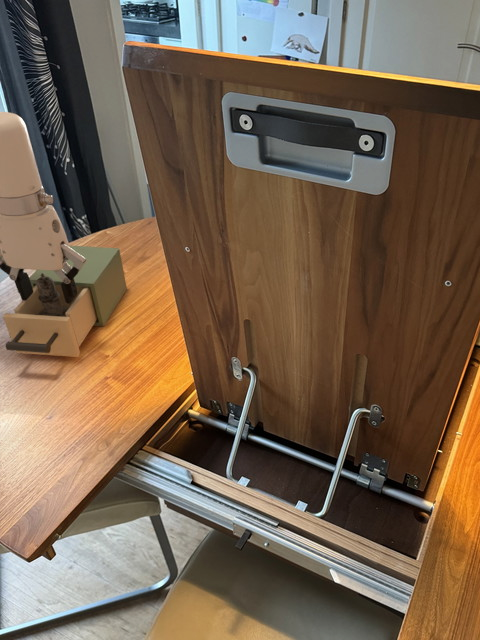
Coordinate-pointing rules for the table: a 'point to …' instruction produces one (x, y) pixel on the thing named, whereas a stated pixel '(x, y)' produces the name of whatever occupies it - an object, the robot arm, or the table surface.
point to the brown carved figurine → (49, 298)
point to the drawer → (51, 325)
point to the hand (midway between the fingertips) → (49, 297)
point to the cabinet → (96, 278)
